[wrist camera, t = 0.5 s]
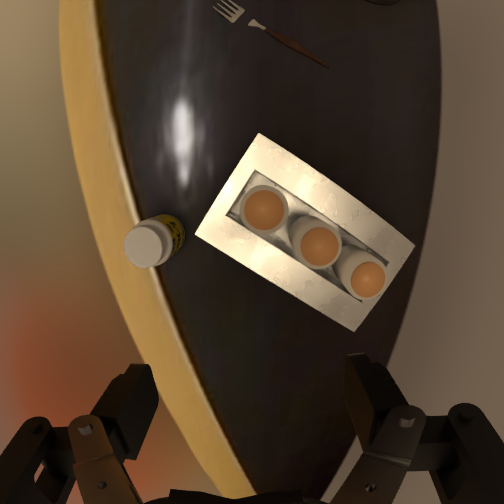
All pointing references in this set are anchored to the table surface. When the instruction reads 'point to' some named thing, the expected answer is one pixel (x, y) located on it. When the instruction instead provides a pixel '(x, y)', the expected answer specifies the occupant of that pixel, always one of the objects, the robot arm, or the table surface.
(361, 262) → the knob
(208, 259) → the table surface
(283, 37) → the fork
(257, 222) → the knob
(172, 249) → the supplement bottle
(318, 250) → the knob
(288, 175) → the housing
